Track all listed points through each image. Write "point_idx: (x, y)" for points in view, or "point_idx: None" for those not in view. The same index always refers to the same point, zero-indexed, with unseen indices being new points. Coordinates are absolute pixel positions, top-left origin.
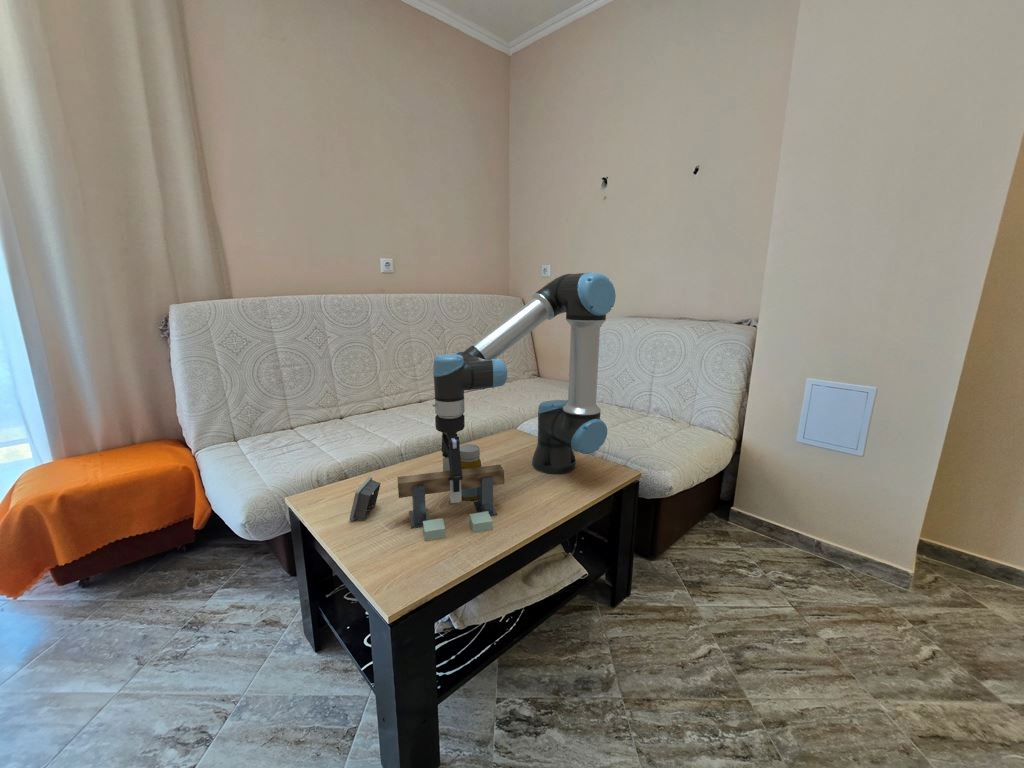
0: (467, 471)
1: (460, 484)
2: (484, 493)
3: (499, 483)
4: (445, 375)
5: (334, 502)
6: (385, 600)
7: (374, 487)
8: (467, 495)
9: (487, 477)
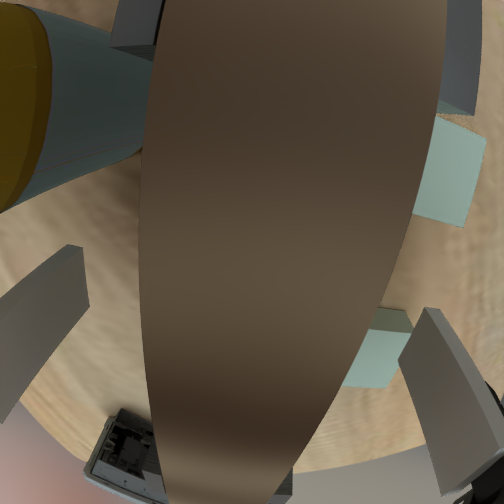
0: (259, 263)
1: (491, 403)
2: None
3: None
4: None
5: (95, 440)
6: None
7: (130, 478)
8: None
9: (465, 35)
